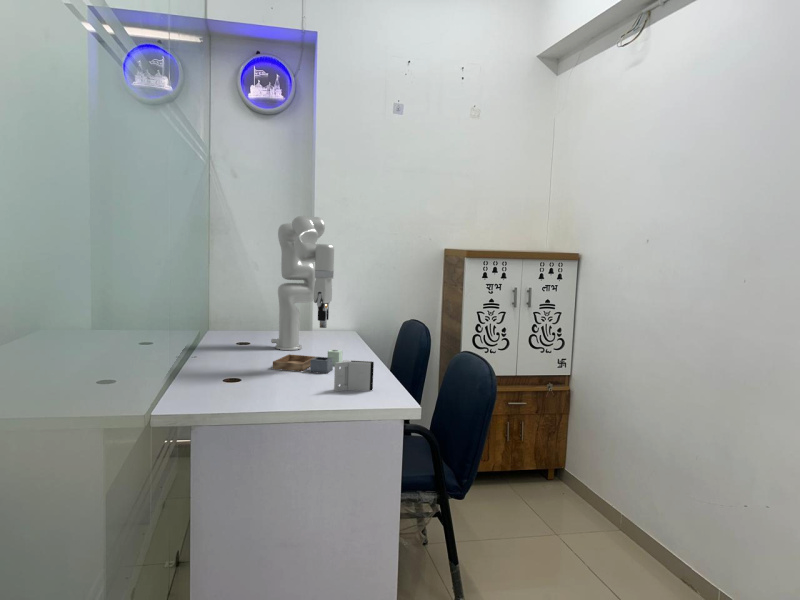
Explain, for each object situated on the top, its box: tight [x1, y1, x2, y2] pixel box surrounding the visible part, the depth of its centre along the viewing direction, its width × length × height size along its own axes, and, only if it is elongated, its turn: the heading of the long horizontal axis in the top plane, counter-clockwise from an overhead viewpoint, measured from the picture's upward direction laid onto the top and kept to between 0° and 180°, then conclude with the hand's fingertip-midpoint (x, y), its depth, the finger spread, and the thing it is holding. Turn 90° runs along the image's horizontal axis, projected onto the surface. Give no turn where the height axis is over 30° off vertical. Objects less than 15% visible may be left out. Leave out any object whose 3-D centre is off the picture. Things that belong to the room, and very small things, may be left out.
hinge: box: [333, 359, 375, 392], centre depth 200 cm, size 14×5×10 cm, turn 101°
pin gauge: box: [319, 303, 328, 329], centre depth 230 cm, size 3×3×10 cm
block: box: [309, 356, 334, 374], centre depth 226 cm, size 7×7×5 cm
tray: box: [272, 354, 316, 372], centre depth 233 cm, size 13×17×3 cm
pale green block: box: [327, 349, 344, 367], centre depth 240 cm, size 5×5×6 cm
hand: (323, 319), depth 230 cm, fingers closed on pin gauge, 2 cm apart
